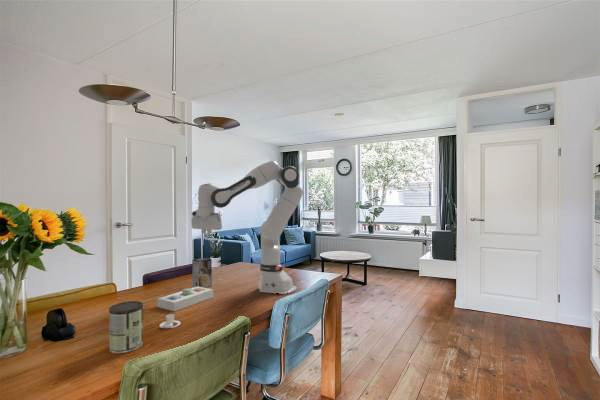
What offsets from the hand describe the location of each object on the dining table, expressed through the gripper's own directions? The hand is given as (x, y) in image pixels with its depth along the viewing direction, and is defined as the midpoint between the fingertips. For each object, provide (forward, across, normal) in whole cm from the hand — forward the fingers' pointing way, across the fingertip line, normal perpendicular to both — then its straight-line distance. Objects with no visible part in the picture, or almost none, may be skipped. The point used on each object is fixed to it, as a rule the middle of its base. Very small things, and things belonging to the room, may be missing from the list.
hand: (206, 237), depth 174 cm
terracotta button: (+28, -5, +11) cm, 31 cm away
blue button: (+28, -5, +26) cm, 39 cm away
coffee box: (+30, +9, -4) cm, 32 cm away
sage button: (+27, -5, +19) cm, 33 cm away
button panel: (+30, -5, +19) cm, 35 cm away
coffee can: (+30, -25, +62) cm, 73 cm away
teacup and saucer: (+30, -21, +44) cm, 58 cm away
